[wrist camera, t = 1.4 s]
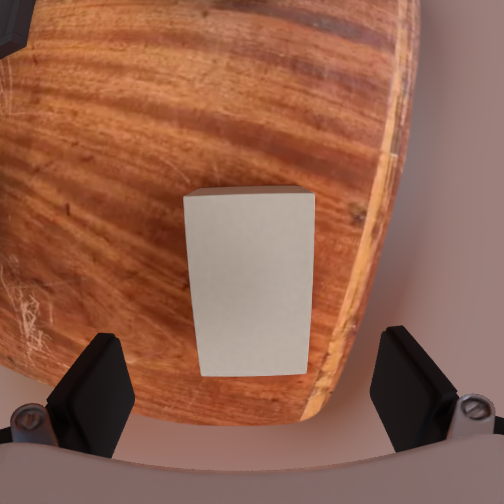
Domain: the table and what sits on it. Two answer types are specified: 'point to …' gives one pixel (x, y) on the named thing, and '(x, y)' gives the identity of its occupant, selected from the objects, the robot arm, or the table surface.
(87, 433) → the robot arm
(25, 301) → the table surface
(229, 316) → the cream block
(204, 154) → the table surface
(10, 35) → the tray
